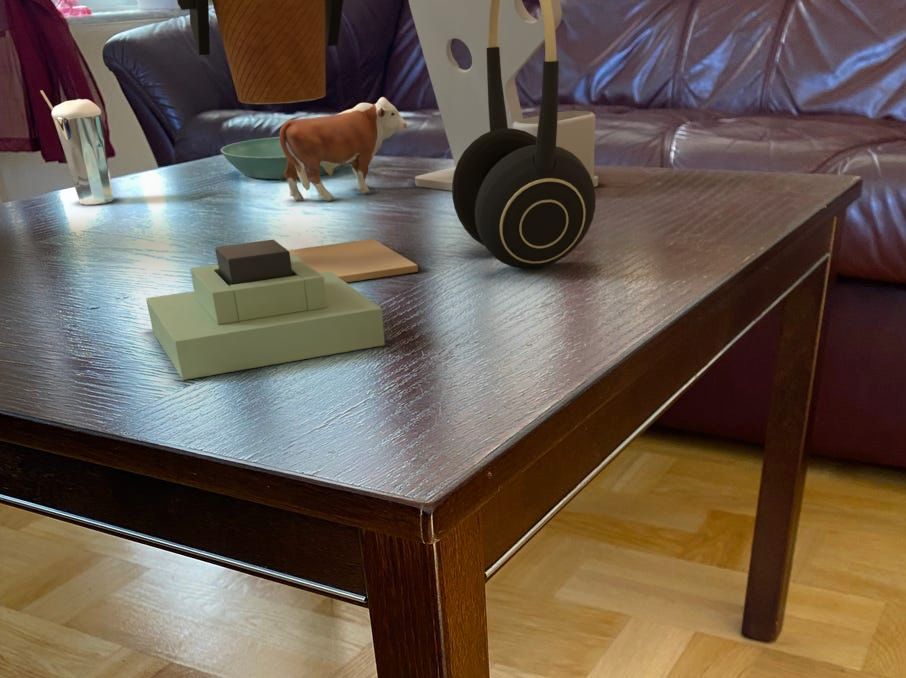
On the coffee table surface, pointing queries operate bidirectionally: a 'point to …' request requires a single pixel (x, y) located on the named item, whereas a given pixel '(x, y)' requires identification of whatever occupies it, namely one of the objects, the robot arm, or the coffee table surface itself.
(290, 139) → the bull figurine
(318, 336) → the tiered green pedestal
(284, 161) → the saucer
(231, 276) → the key
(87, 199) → the milkshake
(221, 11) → the disposable coffee cup
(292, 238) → the coffee table surface
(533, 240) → the headphones
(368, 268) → the coaster
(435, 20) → the phone holder
